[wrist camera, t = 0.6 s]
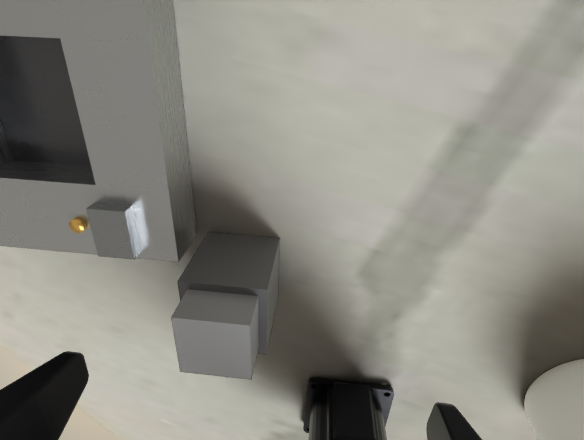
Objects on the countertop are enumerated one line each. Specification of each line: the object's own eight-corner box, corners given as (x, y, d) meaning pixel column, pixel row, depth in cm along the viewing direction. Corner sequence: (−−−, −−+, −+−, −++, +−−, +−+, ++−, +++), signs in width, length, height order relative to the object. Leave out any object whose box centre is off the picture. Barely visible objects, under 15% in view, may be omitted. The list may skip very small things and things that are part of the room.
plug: (278, 294, 23) (260, 386, 17) (213, 288, 24) (172, 376, 17) (280, 237, 21) (260, 318, 15) (208, 231, 22) (159, 309, 15)
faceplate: (196, 234, 22) (172, 270, 18) (-13, 216, 23) (-72, 248, 19) (165, -71, 15) (116, -104, 11) (-136, -79, 16) (-265, -112, 12)
